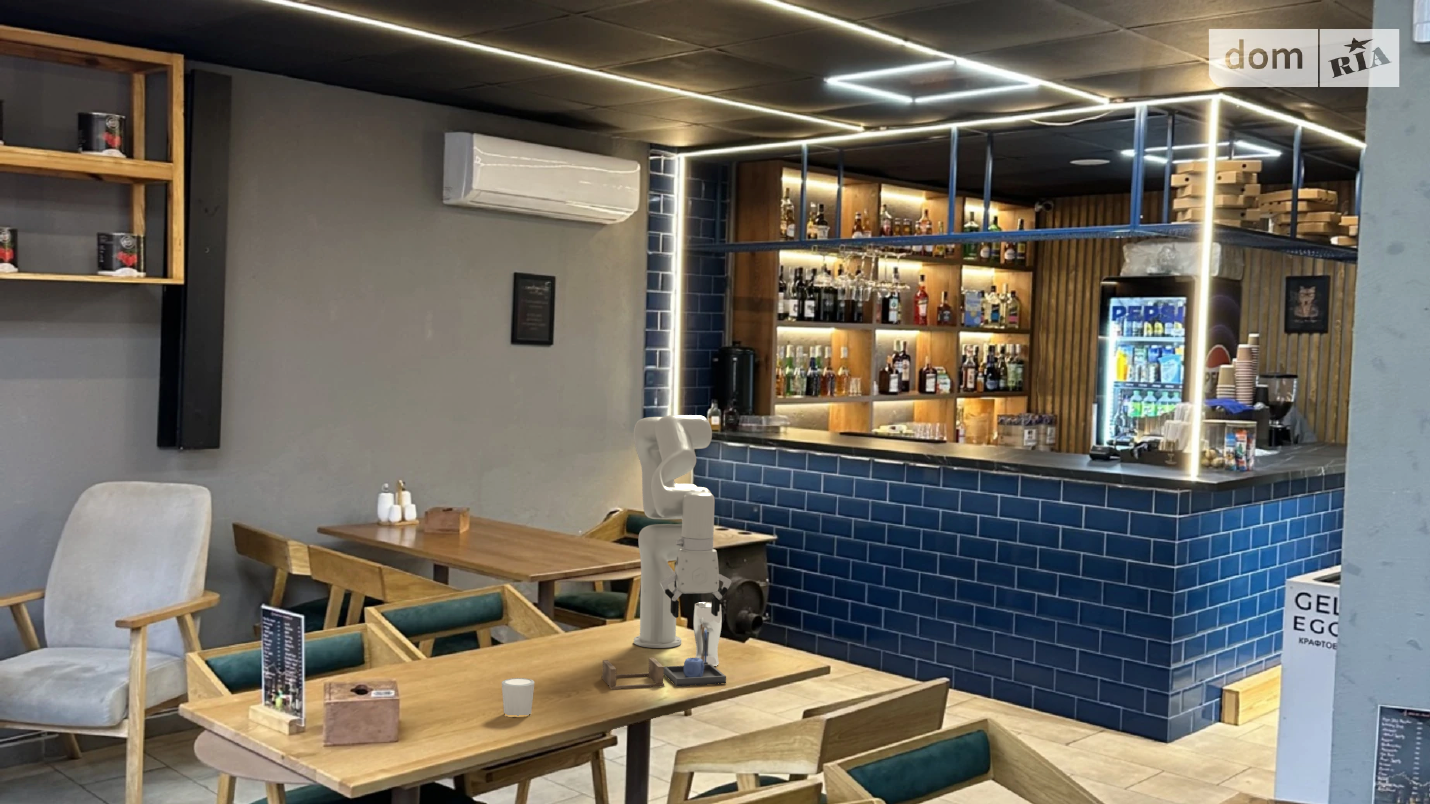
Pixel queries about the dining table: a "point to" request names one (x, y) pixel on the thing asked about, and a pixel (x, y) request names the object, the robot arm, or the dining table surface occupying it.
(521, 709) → the white cup
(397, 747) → the dining table surface
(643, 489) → the robot arm
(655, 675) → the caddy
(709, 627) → the beer glass
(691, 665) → the decorative dice
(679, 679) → the tray
